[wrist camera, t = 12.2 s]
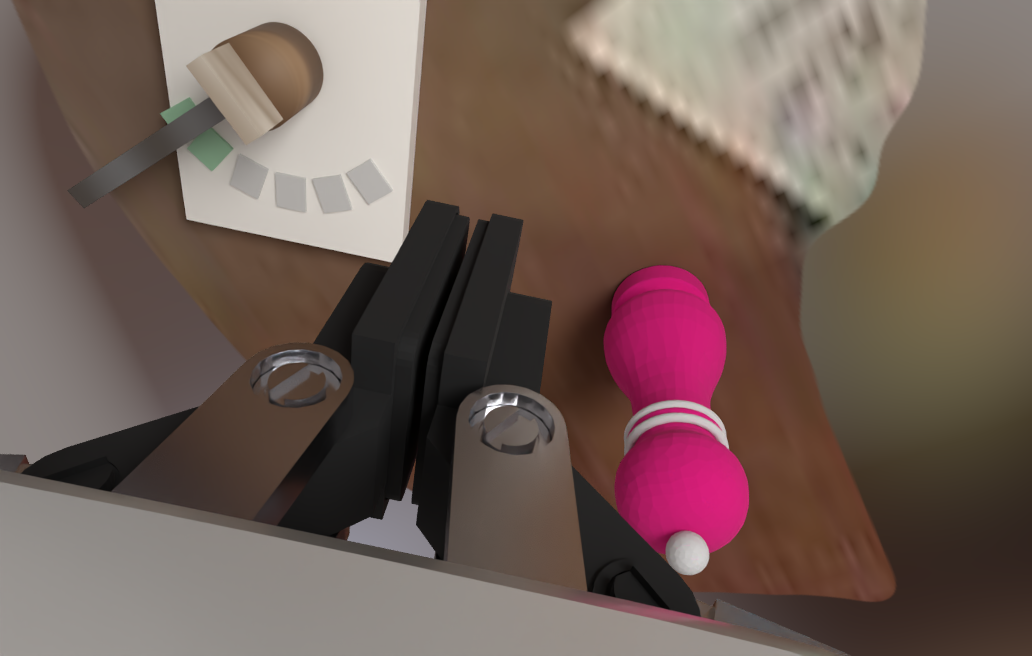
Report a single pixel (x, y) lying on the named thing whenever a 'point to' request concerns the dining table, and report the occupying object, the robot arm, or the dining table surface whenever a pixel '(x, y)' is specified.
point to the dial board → (307, 124)
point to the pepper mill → (673, 418)
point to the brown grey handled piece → (227, 99)
